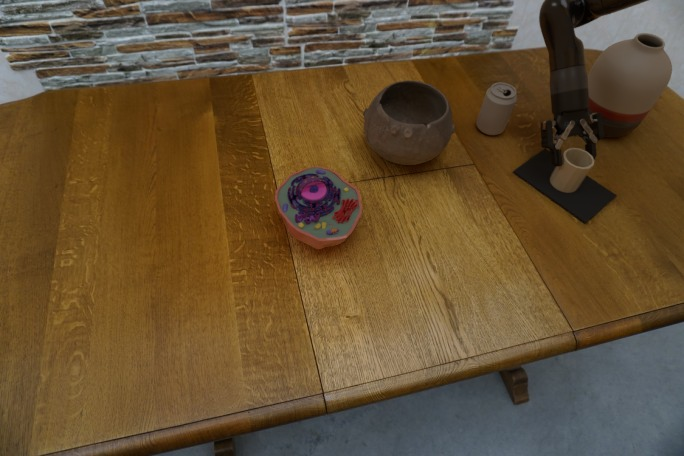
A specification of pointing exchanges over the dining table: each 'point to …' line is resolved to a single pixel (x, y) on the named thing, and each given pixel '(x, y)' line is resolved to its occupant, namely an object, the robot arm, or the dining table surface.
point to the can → (496, 108)
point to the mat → (576, 203)
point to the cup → (571, 170)
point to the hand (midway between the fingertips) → (574, 163)
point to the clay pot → (408, 122)
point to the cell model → (319, 206)
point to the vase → (628, 82)
